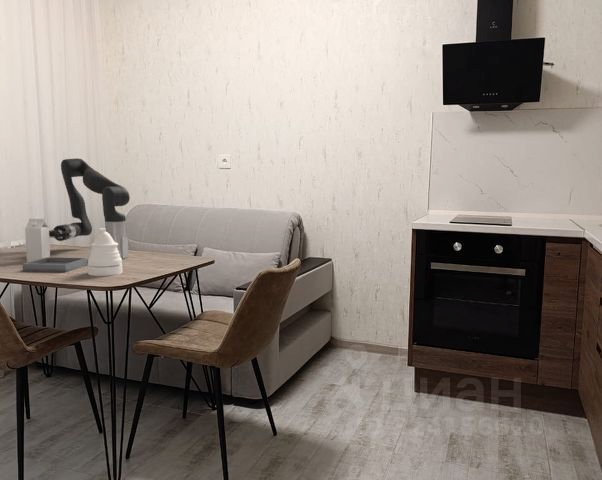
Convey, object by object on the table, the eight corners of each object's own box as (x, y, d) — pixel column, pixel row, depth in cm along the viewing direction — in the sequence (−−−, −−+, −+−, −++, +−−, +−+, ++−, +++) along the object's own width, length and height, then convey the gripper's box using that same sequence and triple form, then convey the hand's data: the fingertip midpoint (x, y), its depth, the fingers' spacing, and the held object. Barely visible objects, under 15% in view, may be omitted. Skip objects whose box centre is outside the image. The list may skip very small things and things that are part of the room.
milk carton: (35, 259, 251) (33, 218, 249) (50, 260, 251) (48, 218, 249) (26, 262, 244) (24, 219, 242) (42, 262, 244) (40, 219, 242)
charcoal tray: (87, 264, 238) (86, 258, 238) (65, 272, 221) (65, 264, 220) (47, 263, 240) (46, 257, 240) (22, 271, 222) (22, 263, 222)
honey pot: (117, 275, 214) (116, 229, 212) (83, 276, 213) (81, 229, 211) (125, 270, 227) (124, 226, 225) (93, 270, 226) (92, 226, 224)
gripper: (50, 224, 270) (31, 227, 254) (78, 224, 268) (60, 228, 252) (51, 239, 271) (31, 243, 255) (78, 240, 269) (61, 244, 253)
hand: (46, 235), depth 253 cm, fingers open, 8 cm apart
